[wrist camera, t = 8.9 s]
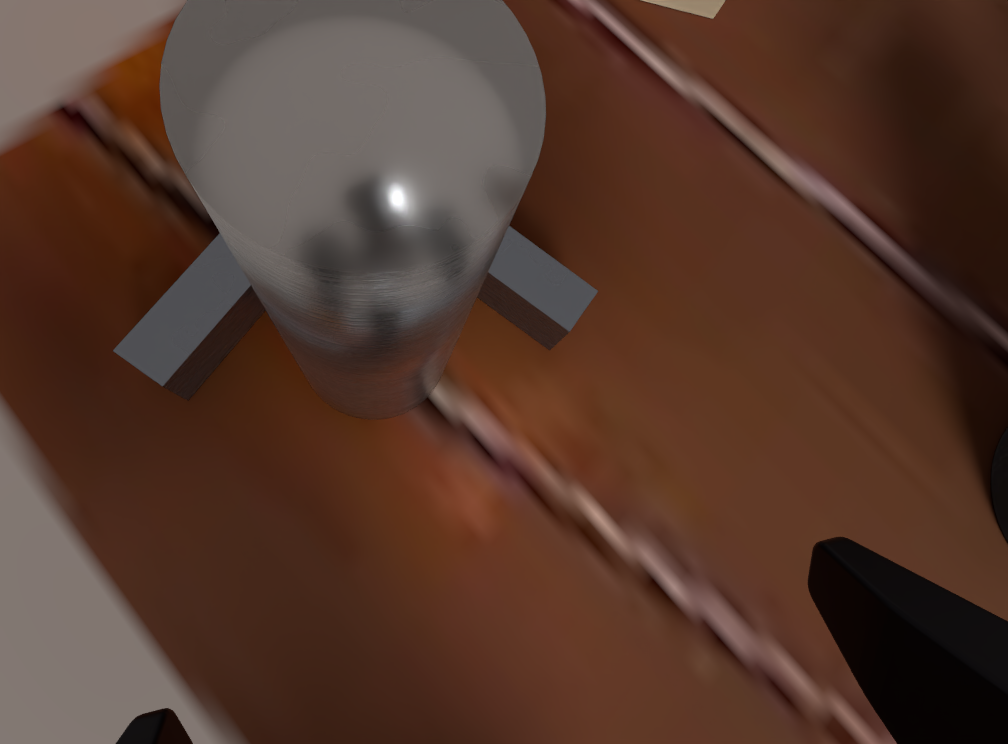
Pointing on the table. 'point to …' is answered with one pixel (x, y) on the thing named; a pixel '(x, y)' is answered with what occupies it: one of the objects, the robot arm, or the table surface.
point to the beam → (692, 6)
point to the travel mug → (1001, 483)
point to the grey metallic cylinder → (358, 171)
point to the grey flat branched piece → (236, 307)
